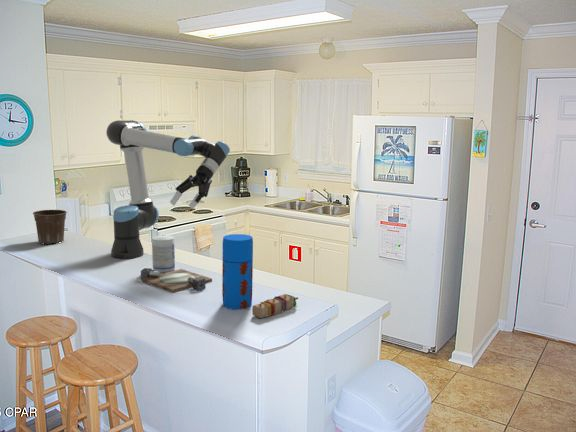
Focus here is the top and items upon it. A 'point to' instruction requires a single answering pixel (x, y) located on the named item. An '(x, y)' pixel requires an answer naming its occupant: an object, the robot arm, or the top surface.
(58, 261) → the top surface
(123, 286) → the top surface
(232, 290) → the thermos
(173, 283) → the board
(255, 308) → the skewer
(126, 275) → the top surface
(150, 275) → the shaft
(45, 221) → the plant pot
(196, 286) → the shaft
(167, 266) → the supplement tub
